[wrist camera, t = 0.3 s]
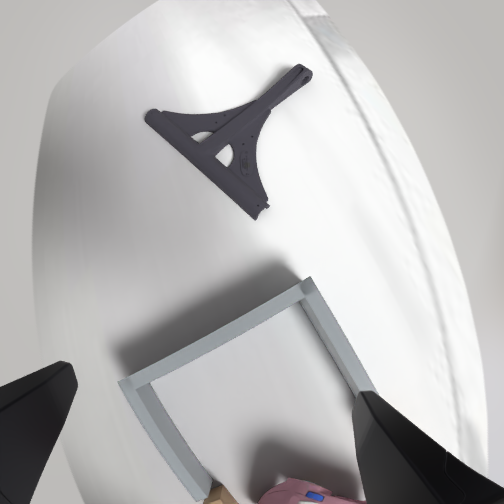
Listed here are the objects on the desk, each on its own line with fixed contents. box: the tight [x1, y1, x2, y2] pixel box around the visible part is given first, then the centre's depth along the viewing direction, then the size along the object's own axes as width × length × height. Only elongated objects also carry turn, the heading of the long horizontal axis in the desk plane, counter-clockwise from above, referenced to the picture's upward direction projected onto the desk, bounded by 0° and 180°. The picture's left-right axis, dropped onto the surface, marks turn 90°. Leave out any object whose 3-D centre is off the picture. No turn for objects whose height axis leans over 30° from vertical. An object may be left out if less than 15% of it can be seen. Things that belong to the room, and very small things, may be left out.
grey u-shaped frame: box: [118, 277, 379, 502], centre depth 20 cm, size 10×15×3 cm
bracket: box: [145, 64, 313, 220], centre depth 26 cm, size 14×15×3 cm
